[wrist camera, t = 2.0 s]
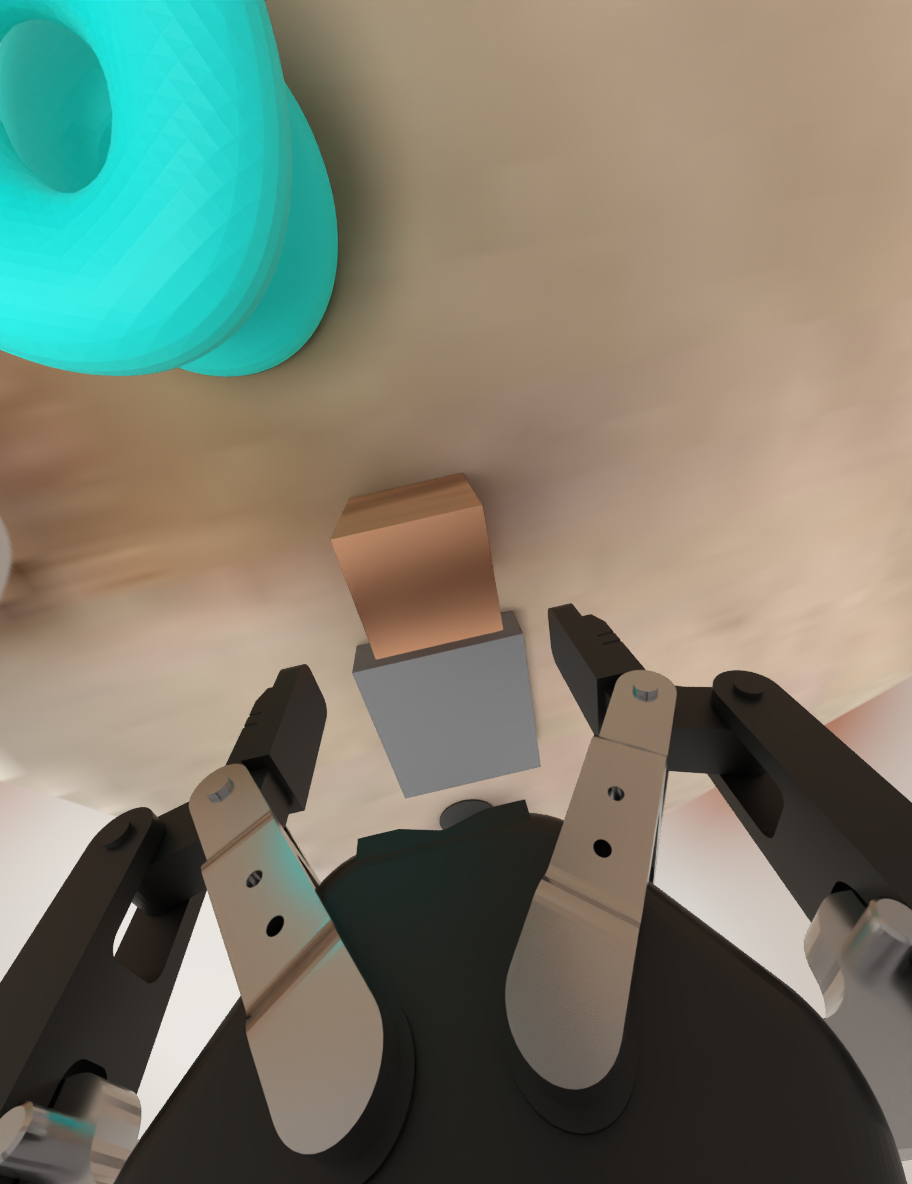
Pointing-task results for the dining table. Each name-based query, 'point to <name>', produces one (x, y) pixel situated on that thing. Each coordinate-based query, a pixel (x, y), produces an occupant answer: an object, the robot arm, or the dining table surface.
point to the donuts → (156, 190)
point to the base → (452, 709)
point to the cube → (419, 565)
